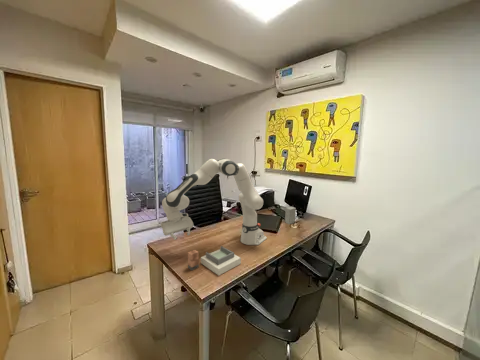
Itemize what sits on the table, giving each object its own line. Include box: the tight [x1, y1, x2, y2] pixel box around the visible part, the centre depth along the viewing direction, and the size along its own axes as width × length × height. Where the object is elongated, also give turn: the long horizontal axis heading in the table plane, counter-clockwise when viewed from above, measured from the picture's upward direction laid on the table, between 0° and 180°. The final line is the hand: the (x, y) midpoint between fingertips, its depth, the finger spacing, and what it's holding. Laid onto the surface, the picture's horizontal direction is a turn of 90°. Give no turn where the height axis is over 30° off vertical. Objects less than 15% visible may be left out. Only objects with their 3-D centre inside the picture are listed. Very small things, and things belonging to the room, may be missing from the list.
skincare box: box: [284, 206, 297, 225], centre depth 203 cm, size 8×7×16 cm
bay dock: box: [200, 245, 242, 276], centre depth 129 cm, size 18×18×7 cm
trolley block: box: [187, 249, 200, 271], centre depth 124 cm, size 5×4×10 cm
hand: (182, 237), depth 131 cm, fingers open, 8 cm apart
